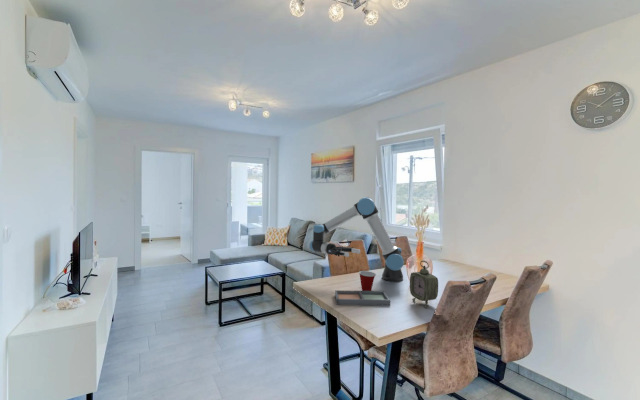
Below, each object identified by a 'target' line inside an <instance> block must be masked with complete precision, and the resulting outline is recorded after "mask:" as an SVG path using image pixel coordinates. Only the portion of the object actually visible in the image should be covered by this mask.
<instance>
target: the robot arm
mask: <svg viewBox="0 0 640 400" xmlns="http://www.w3.org/2000/svg"><path fill="white" fill-rule="evenodd" d="M379 212H380V211H379V209H378V208H377V206H376V204H375V201H374V200H373V199H372V198H370V197H369V196H364V197H362V198H361V199H359V200H358V201H357V202H356V203H354V204H353V205H352V207H350V208H348V209H346V210H345V211H343V212H341V213H340V214H337V216H334V217H333V218H331V219H329V220H328V221H326V222H324V223H322V224H314V225H313V229H312V232H313V233H312V234H313V235H312V236H313V237H312V240H311V242H310V244H309V249H310V251H312V252H315V253H322V254H325V255H326V254H328V255H330V256H331V255H332V256H337V257H341V256H343V257H348V258H349V257H350V253H353V254H358V255H360V254H361V249H357V248H354V247H353V246H351V247H350V246H348V247H346V246H336V244H334V243H330V242H325V238H324V237H325V235H327V234H328V233H330V232H331V231H333V230H335V229H337V228H338V227H341V226H342V225H344V224H346V223H347V222H349V221H351V220H353V219H355V218H357V217H358V216H360V217H362V218H363V220H364V221H366V222H367V224H368V225H369V227H370V230H371V232H372V233H373V235H374V237H375V239H376V242H377V243H378V245H379V247H380V249H381V251H382V253H381V255H382V258H383V260H384V269H383V272H382V275H381V278H382V279H383V280H385V281H388V282H402V281H403V280H404V274H403V271H402V268H403V266H404V264H405V262H404V261H405V260H404V258H403V256H402V248H401V247H398V246H395V245H394V244H393V242H392V240H391V237H390V235H389V234H388V232H387V230H386V228H385V226H384V225H383V223H382V221H381V218H380V216H379Z"/></svg>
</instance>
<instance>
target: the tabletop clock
mask: <svg viewBox="0 0 640 400" xmlns="http://www.w3.org/2000/svg"><path fill="white" fill-rule="evenodd" d="M422 263H425V264H426V265H427V267H426V265H422ZM420 267H421V269H420V270H419V271H417V272H416V271H415V272H413V271H412V272H411V273H410V276H409V293H410V295H411V296H412V297H414V298H412V301H413V302H416V299H417V300H419V301H421V302H424V303H425V305H424V307H425V309H427V308H429V307H428V303H429V302H428V301H434V300H437V298H438V296H439V279H438V277H437V276H435V275H434V274H432V273H430V272H429V269H428V268H429V267H430V264H429V263H428V262H427V261H426V260H421V261H420Z"/></svg>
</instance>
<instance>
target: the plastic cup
mask: <svg viewBox="0 0 640 400" xmlns="http://www.w3.org/2000/svg"><path fill="white" fill-rule="evenodd" d="M358 274H359V279H360V286H361V291H373V290H372V289H373V285H374V280H375V277H376V276H377V274H376V273H375V272H372V271H368V270H361V271H360V270H359V272H358Z"/></svg>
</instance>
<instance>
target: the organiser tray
mask: <svg viewBox="0 0 640 400" xmlns="http://www.w3.org/2000/svg"><path fill="white" fill-rule="evenodd" d="M334 297H335V301H336V302H335V303H336V305H337V306H340V305H341V306H391V299H390V298H389V296H388V294H387V293H386V292H385V290H371V291H362V290H345V289H343V290H337V289H336V290H334Z"/></svg>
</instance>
